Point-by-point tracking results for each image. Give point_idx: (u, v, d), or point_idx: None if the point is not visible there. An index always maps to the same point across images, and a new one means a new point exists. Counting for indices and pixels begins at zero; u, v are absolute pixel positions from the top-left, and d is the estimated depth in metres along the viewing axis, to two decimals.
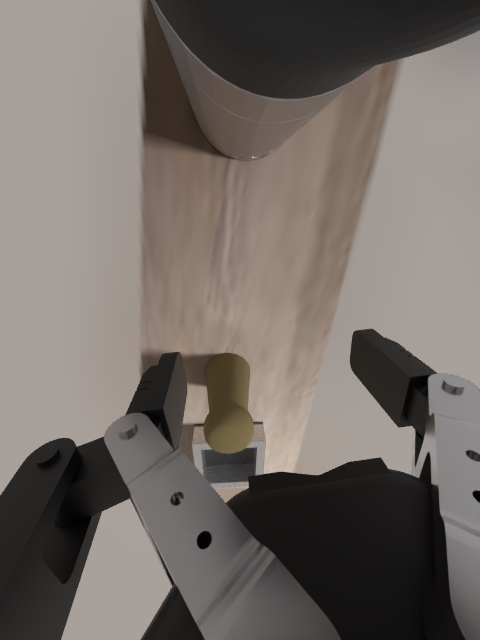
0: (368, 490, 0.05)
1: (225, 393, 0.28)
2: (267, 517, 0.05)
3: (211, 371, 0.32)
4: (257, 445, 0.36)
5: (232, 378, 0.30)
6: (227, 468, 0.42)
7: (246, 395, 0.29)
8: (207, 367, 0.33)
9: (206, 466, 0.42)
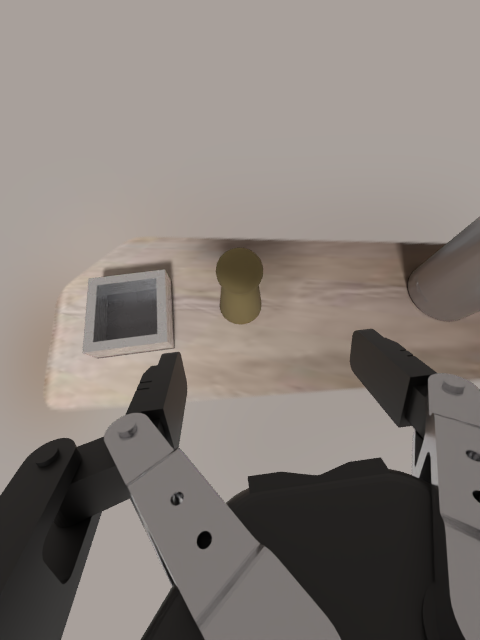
0: (368, 490, 0.05)
1: None
2: (267, 517, 0.05)
3: None
4: (160, 333, 0.32)
5: None
6: (104, 316, 0.35)
7: (249, 301, 0.31)
8: None
9: (107, 295, 0.37)
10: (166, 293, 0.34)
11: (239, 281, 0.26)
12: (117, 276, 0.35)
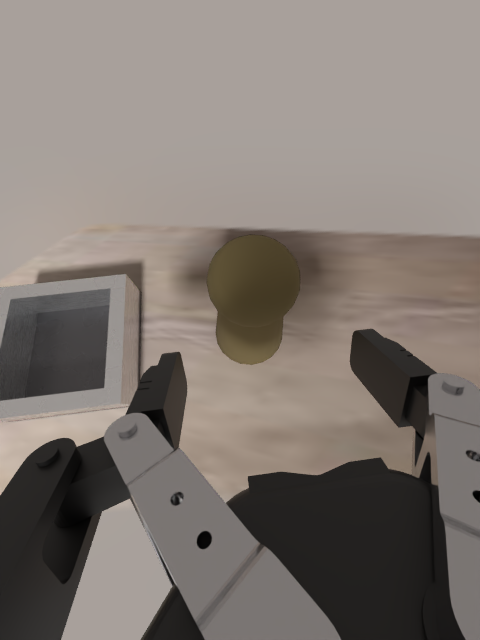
0: (368, 490, 0.05)
1: None
2: (267, 517, 0.05)
3: None
4: (110, 387, 0.18)
5: None
6: (25, 349, 0.21)
7: (268, 334, 0.17)
8: None
9: (36, 313, 0.23)
10: (126, 314, 0.20)
11: (255, 304, 0.12)
12: (46, 284, 0.21)
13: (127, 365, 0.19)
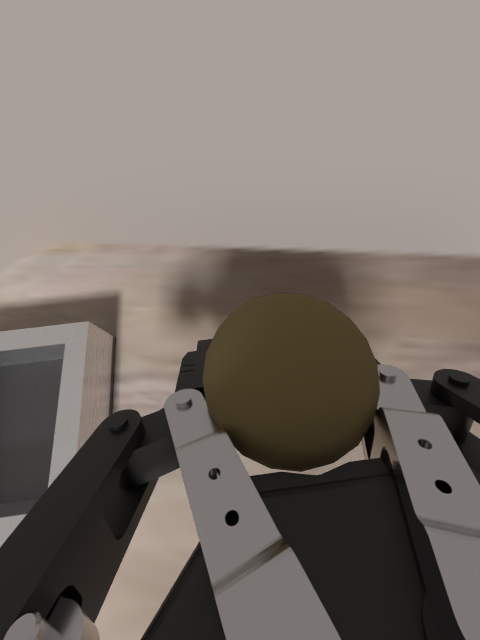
0: (368, 490, 0.05)
1: None
2: None
3: None
4: None
5: None
6: None
7: None
8: None
9: None
10: (87, 382, 0.14)
11: (302, 453, 0.06)
12: None
13: None
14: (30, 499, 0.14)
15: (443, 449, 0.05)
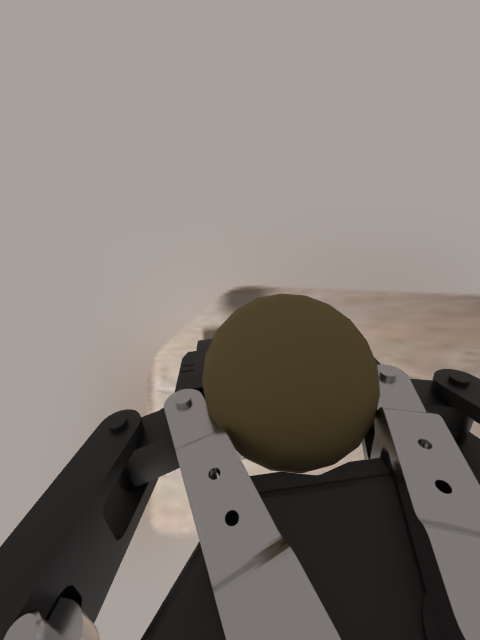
0: (368, 490, 0.05)
1: None
2: None
3: None
4: None
5: None
6: None
7: None
8: None
9: None
10: None
11: (302, 455, 0.06)
12: None
13: None
14: None
15: (443, 449, 0.05)
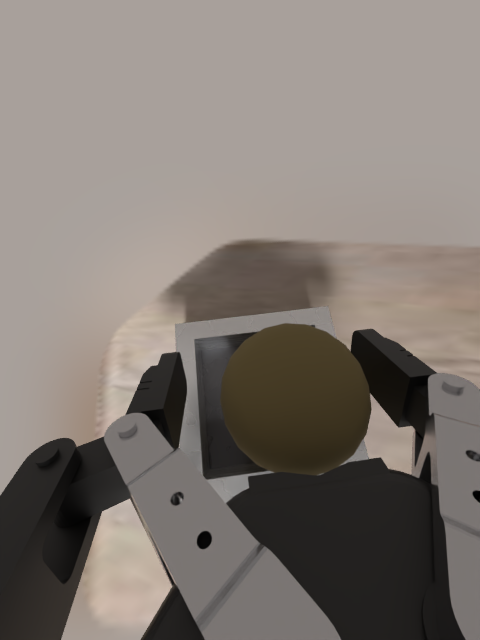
0: (368, 490, 0.05)
1: None
2: (267, 517, 0.05)
3: None
4: (354, 459, 0.14)
5: None
6: (203, 399, 0.17)
7: None
8: None
9: (200, 351, 0.19)
10: None
11: (307, 464, 0.07)
12: (233, 319, 0.17)
13: None
14: None
15: None
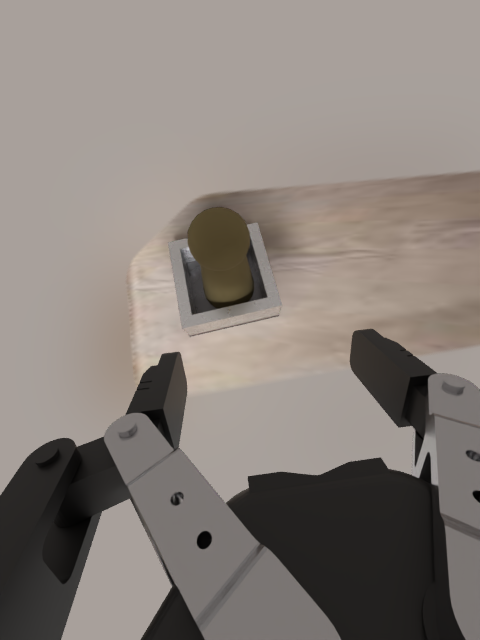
0: (368, 490, 0.05)
1: None
2: (267, 517, 0.05)
3: None
4: (271, 296, 0.26)
5: (248, 267, 0.26)
6: (190, 286, 0.29)
7: (237, 279, 0.24)
8: None
9: (186, 263, 0.31)
10: (264, 250, 0.28)
11: (219, 251, 0.19)
12: None
13: None
14: None
15: None
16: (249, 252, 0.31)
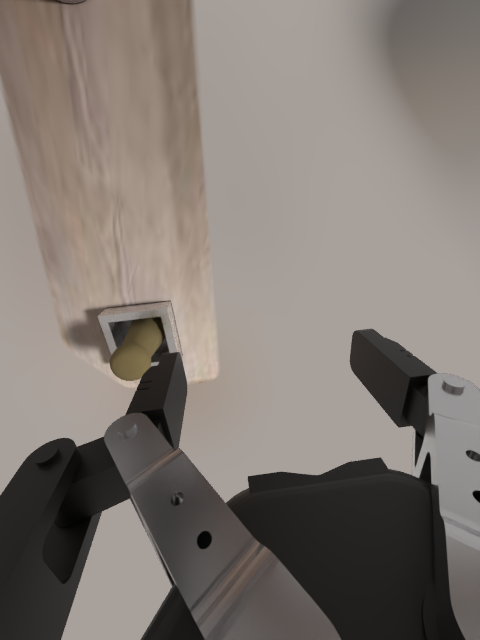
0: (368, 490, 0.05)
1: (130, 338, 0.36)
2: (267, 517, 0.05)
3: None
4: (160, 313, 0.39)
5: (140, 329, 0.38)
6: None
7: (151, 340, 0.38)
8: None
9: None
10: (122, 312, 0.39)
11: (143, 367, 0.33)
12: (111, 353, 0.41)
13: (149, 308, 0.39)
14: None
15: None
16: None
